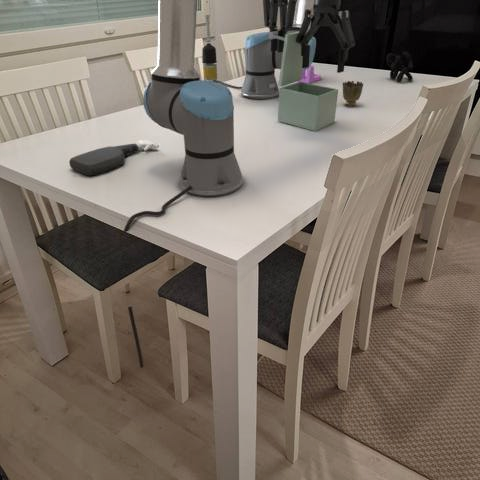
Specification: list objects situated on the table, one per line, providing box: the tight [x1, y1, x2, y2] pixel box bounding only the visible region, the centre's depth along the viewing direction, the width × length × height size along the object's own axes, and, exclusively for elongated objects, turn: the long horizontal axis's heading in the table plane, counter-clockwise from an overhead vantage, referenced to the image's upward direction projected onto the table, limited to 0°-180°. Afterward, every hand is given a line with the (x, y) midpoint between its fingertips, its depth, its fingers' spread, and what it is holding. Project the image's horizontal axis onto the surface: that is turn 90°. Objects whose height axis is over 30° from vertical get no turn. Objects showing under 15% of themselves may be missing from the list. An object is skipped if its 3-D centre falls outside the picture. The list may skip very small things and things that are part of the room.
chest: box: [277, 81, 339, 132], centre depth 148 cm, size 15×12×11 cm
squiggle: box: [385, 51, 414, 83], centre depth 198 cm, size 11×10×15 cm
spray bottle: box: [68, 139, 160, 177], centre depth 124 cm, size 3×11×24 cm
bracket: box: [297, 65, 322, 84], centre depth 202 cm, size 13×6×7 cm, turn 143°
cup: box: [342, 80, 364, 107], centre depth 165 cm, size 7×7×8 cm
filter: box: [201, 14, 218, 83], centre depth 171 cm, size 6×6×30 cm
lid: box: [268, 30, 308, 87], centre depth 146 cm, size 16×12×9 cm
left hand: (322, 69), depth 139 cm, fingers open, 12 cm apart
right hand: (277, 51), depth 147 cm, fingers closed on lid, 2 cm apart
